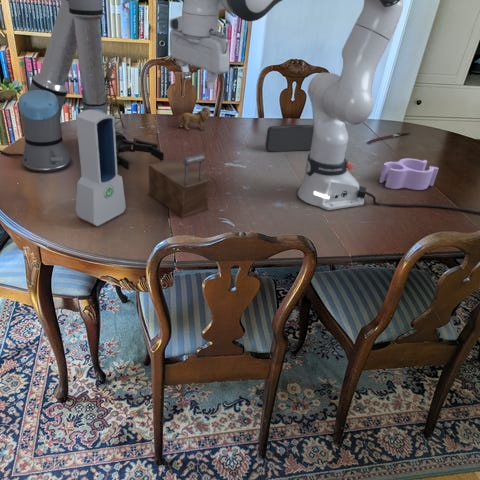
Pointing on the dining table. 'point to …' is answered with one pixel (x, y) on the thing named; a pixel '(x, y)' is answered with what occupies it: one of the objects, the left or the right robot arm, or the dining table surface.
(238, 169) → the dining table surface
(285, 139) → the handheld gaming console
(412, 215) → the dining table surface
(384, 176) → the clip
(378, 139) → the sword
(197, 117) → the lion figurine
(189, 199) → the chest
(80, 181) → the electronic device
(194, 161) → the lid
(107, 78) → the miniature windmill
